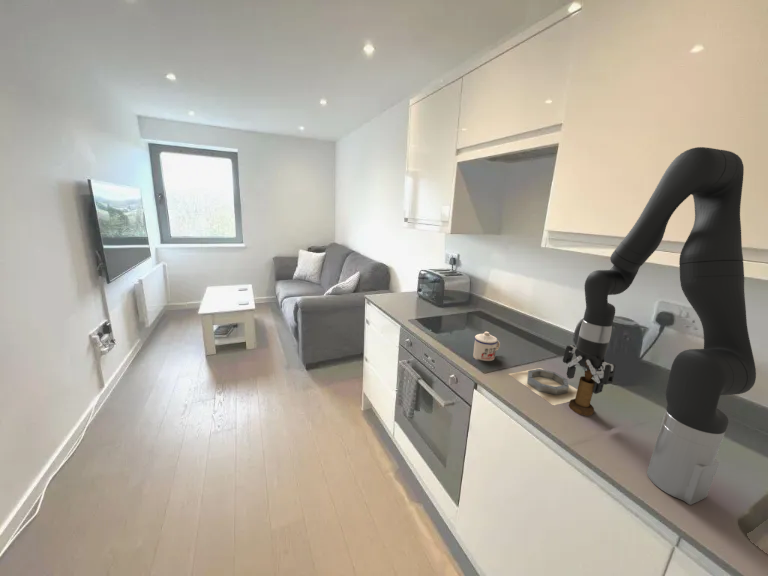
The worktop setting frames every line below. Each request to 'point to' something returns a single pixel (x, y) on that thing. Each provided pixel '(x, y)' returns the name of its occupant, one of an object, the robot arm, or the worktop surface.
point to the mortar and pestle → (584, 395)
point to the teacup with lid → (485, 347)
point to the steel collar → (546, 388)
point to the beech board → (548, 397)
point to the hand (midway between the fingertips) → (582, 385)
